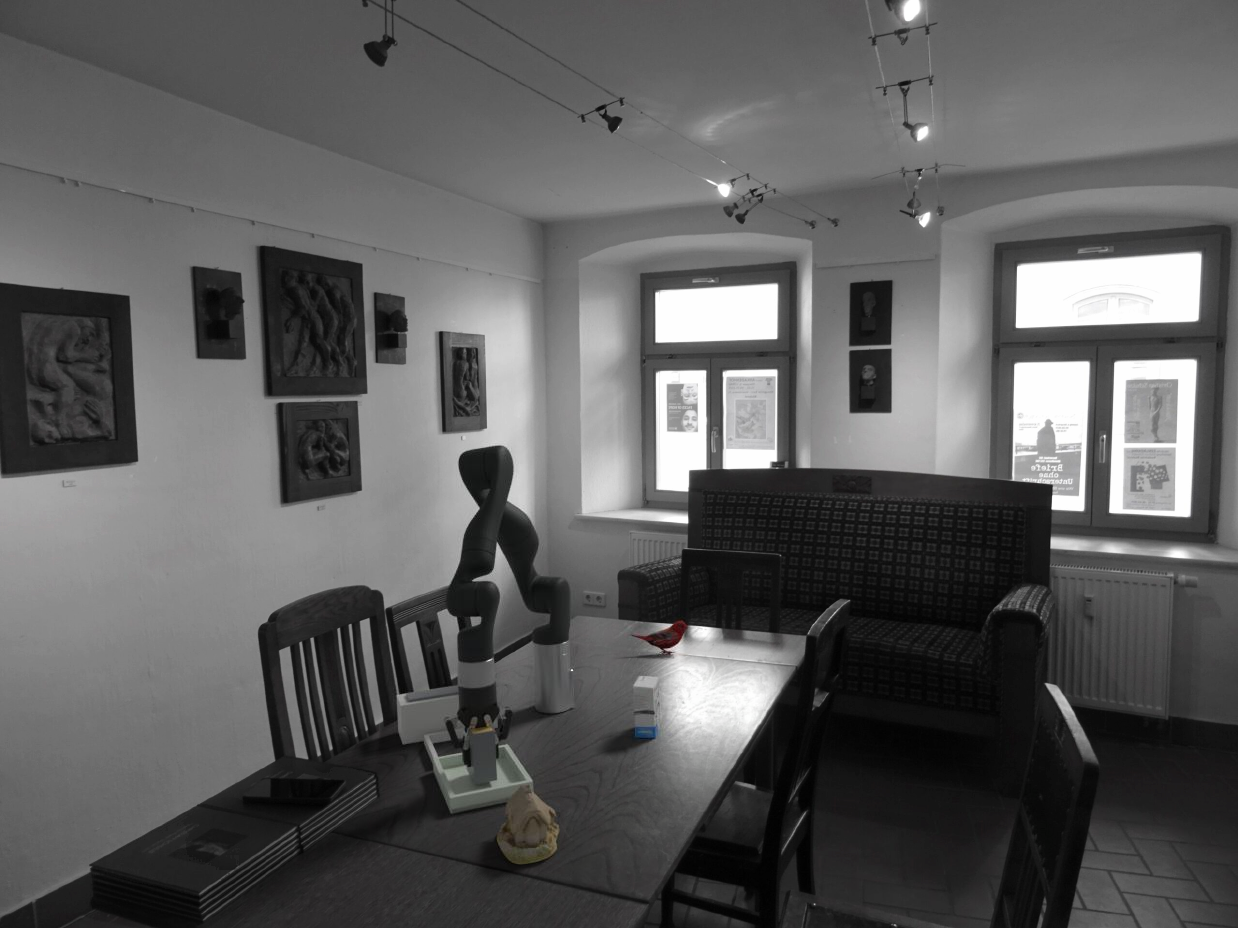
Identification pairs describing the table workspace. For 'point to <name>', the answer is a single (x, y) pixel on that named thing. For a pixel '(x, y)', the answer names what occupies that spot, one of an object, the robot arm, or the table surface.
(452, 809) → the tray
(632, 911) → the table surface
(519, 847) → the ceramic model
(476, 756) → the block
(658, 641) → the decorative bird figurine
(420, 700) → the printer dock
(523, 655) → the table surface
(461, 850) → the table surface
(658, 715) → the ink box
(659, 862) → the table surface
